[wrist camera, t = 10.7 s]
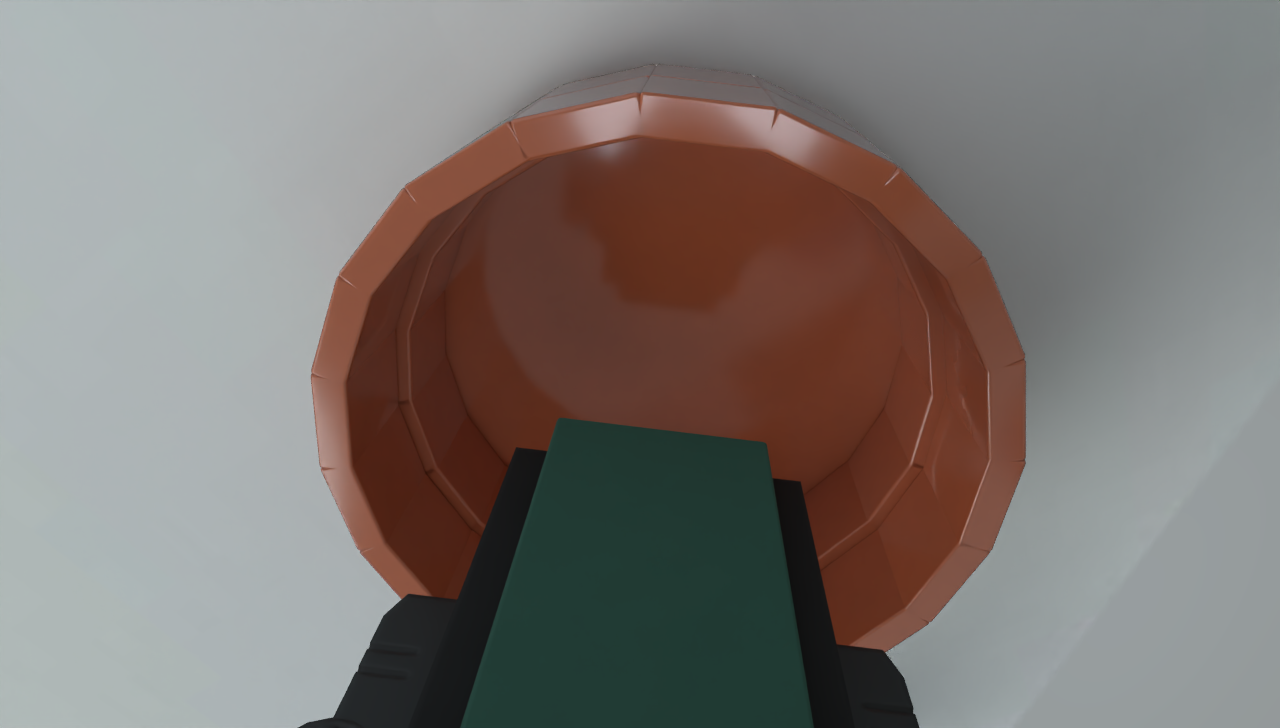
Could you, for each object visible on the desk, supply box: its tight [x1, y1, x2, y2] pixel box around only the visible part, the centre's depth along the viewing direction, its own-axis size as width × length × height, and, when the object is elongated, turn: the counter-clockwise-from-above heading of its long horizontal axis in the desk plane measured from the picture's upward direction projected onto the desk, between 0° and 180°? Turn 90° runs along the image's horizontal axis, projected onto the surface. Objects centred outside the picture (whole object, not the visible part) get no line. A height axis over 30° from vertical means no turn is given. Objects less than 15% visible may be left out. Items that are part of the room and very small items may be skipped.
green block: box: [460, 418, 814, 728], centre depth 11 cm, size 4×4×9 cm
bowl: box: [311, 64, 1026, 652], centre depth 20 cm, size 16×16×7 cm
